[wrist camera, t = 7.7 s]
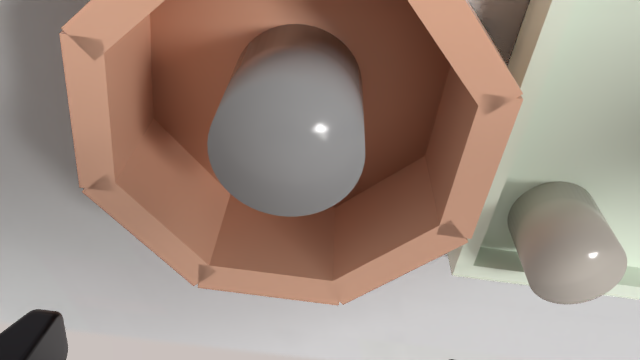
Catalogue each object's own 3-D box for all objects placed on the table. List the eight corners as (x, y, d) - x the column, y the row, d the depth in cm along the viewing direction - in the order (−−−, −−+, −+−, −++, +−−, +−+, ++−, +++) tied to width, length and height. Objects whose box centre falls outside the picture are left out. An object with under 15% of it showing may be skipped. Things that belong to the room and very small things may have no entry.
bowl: (523, -82, 15) (576, -44, 12) (426, 231, 21) (442, 318, 18) (113, -146, 15) (38, -126, 11) (134, 193, 21) (90, 274, 17)
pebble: (609, 187, 19) (644, 241, 17) (575, 252, 21) (603, 309, 19) (523, 175, 19) (547, 228, 17) (496, 242, 21) (514, 298, 19)
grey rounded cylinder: (373, 34, 17) (379, 94, 13) (350, 149, 19) (351, 225, 16) (237, 14, 16) (209, 70, 13) (230, 133, 19) (205, 206, 15)
